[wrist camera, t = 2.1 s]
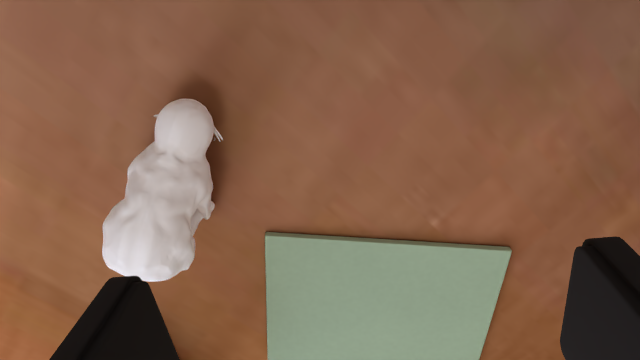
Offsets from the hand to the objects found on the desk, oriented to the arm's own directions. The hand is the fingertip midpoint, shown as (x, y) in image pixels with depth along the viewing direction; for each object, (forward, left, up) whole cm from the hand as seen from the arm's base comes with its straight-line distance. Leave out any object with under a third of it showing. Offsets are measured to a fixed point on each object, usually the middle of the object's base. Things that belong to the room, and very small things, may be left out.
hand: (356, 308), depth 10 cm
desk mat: (+4, -21, -22) cm, 30 cm away
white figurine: (-12, -7, -22) cm, 26 cm away
